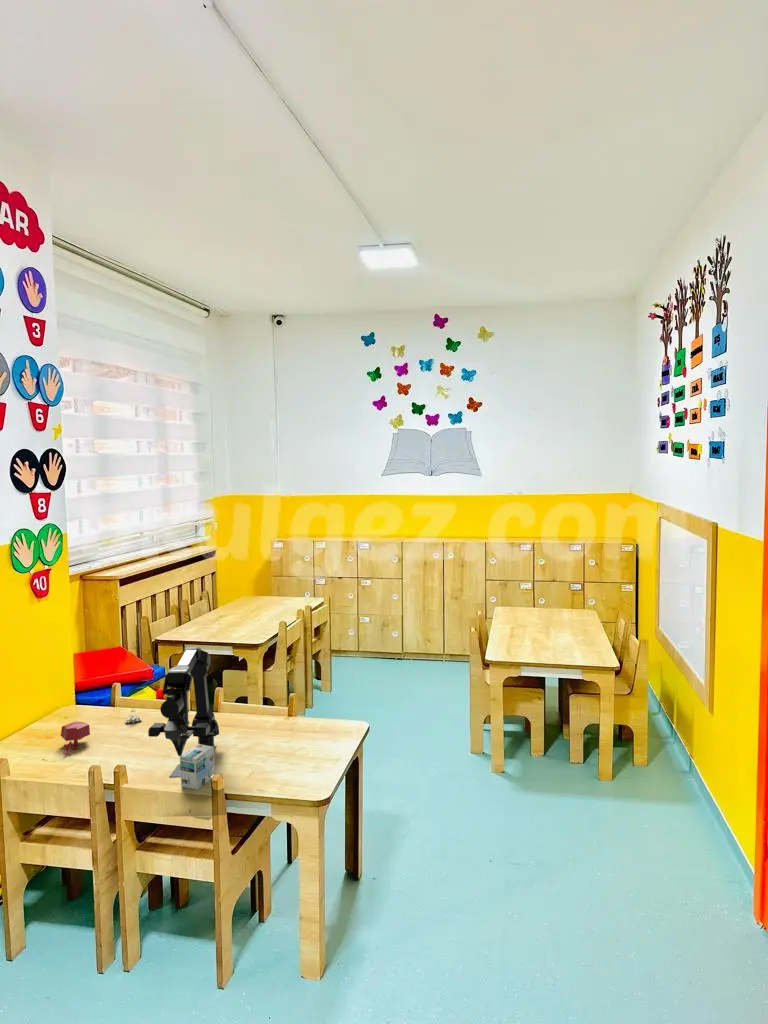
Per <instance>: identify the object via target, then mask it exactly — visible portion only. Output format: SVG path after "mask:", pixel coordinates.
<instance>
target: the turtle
mask: <svg viewBox="0 0 768 1024" xmlns="http://www.w3.org/2000/svg"><path fill="white" fill-rule="evenodd" d="M60 730H61V731H60V737H62V739H63V740H64V741H66V742H68V744H66V743H65V744H63V748H64V750H65V751H64V752H63V755H65V754H68V755H70V754H69V753H70V752H71V750H74V751H75V750H76V749H78V746H79V745H78V744H79V742H78V741H80V740H82V739H84V738H85V737H88V736H90V735H91V732H90V731H91V730H90V724H89V723H87V722H83V721H78V720H74V721H72V722H70V723H67V724H65V725H63V726H61V729H60ZM72 741H73V743H72ZM72 745H73V746H72ZM75 745H77V746H75ZM70 749H71V750H70Z"/></svg>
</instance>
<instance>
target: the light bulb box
mask: <svg viewBox="0 0 768 1024" xmlns="http://www.w3.org/2000/svg"><path fill="white" fill-rule="evenodd" d="M179 764H180V771H181V777H180V787H181V788H187V789H191V790H195V791H198V790H199V789H200V788H201V787H203V786H204V785H206V784H207V783H209V782H210V781H211V780H212V779H211V776H212V775H213V774H215V775H216V773H215V772H216V769H215V768H216V767H215V751H214V747H212V746H206V745H201V744H198V743H197V744H196V745H195V746H193V747H192V748H190V749H188V750H187V751H185V752H184V753H182V755H181V756H179ZM210 779H211V780H210Z"/></svg>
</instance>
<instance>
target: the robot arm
mask: <svg viewBox="0 0 768 1024" xmlns="http://www.w3.org/2000/svg"><path fill="white" fill-rule="evenodd" d="M211 661H212V658H211V655H210V653H209V652H207V651H205V650H202V649H201V648H200V647H196V646H195V647H194V646H193V647H191V646H190V647H186V648H184V652H183V654H182V655H181V658H180V660H179V661H178V663H177V665H175V666H173V667H170V669H169V670H168V671H167V673H166V674H165V676H164V682H163V688H162V689H163V690H162V695H166V699H165V700H164V702H162V704H161V705H160V708H159V709H160V710H159V711H160V714H161V715H162V716H163V717H164V718H166V719H168V720H167V722H166V723H165V722H154V723H153V724H152V725H151V726H150V727H149V728H148V731H147V733H148V735H147V736H148V737H150V738H155V737H159V736H160V735H161V733H164V737H165V739H166V740H169V741H171V743H172V744H173V746H174V748H175V752H176V753H177V756H178V757H180V756H181V755H182V754H184V753H183V752H184V749H185V746H186V743H187V740H188V739H190V738H191V736H192V737H194V738H195V737H197V740H198V741H197V744H201V745H206V746H212V747H214V752H215V751H216V748H217V747H218V746H217V745H215V737H217V736H218V735H220V729H219V727H220V726H219V724H218V721H217V719H216V717H215V713H214V712H213V711H212V710H211V708H210V703H209V702H210V701H209V692H208V681H207V674H208V670H209V668H210V666H211ZM192 683H193V689H194V690H193V691H194V698H195V699H194V700H195V701H194V702H195V710H196V712H195V715H194V717H193V719H192V722H191V726H189V725H190V720H189V713H190V709H189V700H188V699H189V696H188V694H189V691H190V690H191V686H192Z"/></svg>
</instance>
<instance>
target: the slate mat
mask: <svg viewBox="0 0 768 1024" xmlns="http://www.w3.org/2000/svg"><path fill="white" fill-rule="evenodd" d="M169 778H181V771H180V763H178V764H177V765H176V766H175V768H174V769H173V771H172V772H171V774H170V775H169Z"/></svg>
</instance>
